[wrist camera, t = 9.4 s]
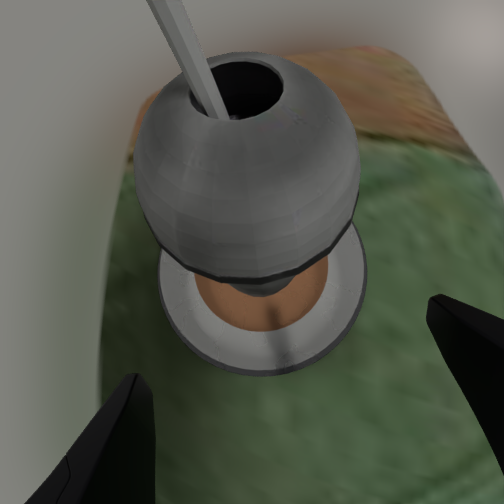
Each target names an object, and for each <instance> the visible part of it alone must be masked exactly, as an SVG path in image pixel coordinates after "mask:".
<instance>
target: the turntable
mask: <svg viewBox="0 0 504 504" xmlns="http://www.w3.org/2000/svg"><path fill="white" fill-rule="evenodd" d="M363 279H364V262H363V254H362V249H361V245H360V241H359V238H358V236H357V233H356V231H355V228H354V226H353V225H352V223H351V225H350V227H349V228H348V229H347V231H346V232H345V234H344V235H343V236H342V238H341V239H340V240H339V242H338V243H337V245H336V246H335V247H334V249H333V250H332V251H331V253H330V254H328V255H327V256H325V257H324V258H322V259H321V260H319V261H318V262H317V263H315V264H314V265H312V266H311V267H309V268H308V269H306V270H305V271H303V272H302V273H300V274H299V275H296V276H295V277H294V278H293V279H292V281H291V282H290V283H289V284H288V285H287V286H286V287H285V288H283V289H282V290H280V291H279V292H277V293H276V294H274V295H270V296H266V297H253V296H250V295H247V294H244V293H242V292H239V291H238V290H236V289H235V288H233V287H232V286H230V285H229V284H226V283H219V282H216V281H214V280H211V279H209V278H206V277H203V276H201V275H198V274H196V273H193V272H191V271H188V270H186V269H185V268H184V267H182V266H181V265H180V264H179V263H178V262H177V261H175V260H174V259H173V258H172V257H171V256H170V255H169V254H167V253H166V252H165V251H164V250H163V249H162V254H161V260H160V283H161V290H162V294H163V299H164V302H165V304H166V307H167V310H168V312H169V314H170V316H171V318H172V320H173V321H174V323H175V325H176V326H177V328H178V329H179V330H180V332H181V333H182V334H183V335H184V336H185V337H186V339H187V340H188V341H189V342H190V343H191V344H192V345H194V346H195V347H196V348H197V349H199V350H200V351H201V352H203V353H204V354H206V355H208V356H209V357H211V358H213V359H215V360H217V361H219V362H222V363H224V364H227V365H229V366H233V367H237V368H241V369H249V370H274V369H279V368H285V367H289V366H292V365H295V364H298V363H301V362H303V361H305V360H307V359H309V358H311V357H313V356H314V355H316V354H317V353H319V352H320V351H322V350H323V349H325V348H326V347H327V346H328V345H329V344H331V343H332V342H333V341H334V340H335V339H336V338H337V337H338V336H339V334H340V333H341V332H342V331H343V330H344V328H345V327H346V325H347V324H348V322H349V321H350V319H351V318H352V316H353V313H354V311H355V309H356V307H357V305H358V302H359V298H360V295H361V291H362V285H363Z"/></svg>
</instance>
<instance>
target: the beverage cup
mask: <svg viewBox="0 0 504 504" xmlns="http://www.w3.org/2000/svg"><path fill="white" fill-rule="evenodd" d="M146 1H147V3H148V5H149V6H150V8H151V10H152V12H153V14H154V16H155V18H156V20H157V22H158V24H159V26H160V28H161V30H162V32H163V34H164V36H165V38H166V40H167V42H168V44H169V46H170V48H171V49H172V52H173V54H174V56H175V57H176V60H177V61H178V64H179V66H180V68H181V70H182V73H181V74H179V75H178V76H177V77H176V78H174V79H173V80H172V81H171V82H169V83H168V84H167V85H166V86H164V88H163V89H162V90H161V92H160V93H159V94H158V96H157V97H156V98H155V100H154V101H153V103H152V104H151V105H150V107H149V109H148V110H147V112H146V114H145V115H144V117H143V121H142V124H141V127H140V130H139V134H138V137H137V141H136V145H135V149H134V153H133V156H134V174H135V184H136V194H137V197H138V200H139V203H140V205H141V207H142V209H143V212H144V216H145V220H146V221H147V223H148V225H149V227H150V229H151V231H152V233H153V235H154V237H155V238H156V240H157V242H158V244H159V246H160V247H161V248H162V249H163V250H164V251H165V252H166V253H167V254H169V255H170V256H171V257H172V258H173V259H174V260H175V261H177V262H178V263H179V264H180V265H181V266H182V267H184V268H185V269H186V270H188V271H191V272H193V273H196V274H198V275H201V276H203V277H206V278H209V279H211V280H214V281H216V282H219V283H226V284H229V285H230V286H232V287H233V288H235V289H236V290H238V291H239V292H242V293H244V294H247V295H250V296H253V297H266V296H270V295H274V294H276V293H277V292H279V291H280V290H282V289H283V288H285V287H286V286H287V285H288V284H289V283H290V282H291V281H292V279H293V278H294V277H295V276H296V275H299V274H300V273H302V272H303V271H305V270H306V269H308V268H309V267H311V266H312V265H314V264H315V263H317V262H318V261H319V260H321V259H322V258H324V257H325V256H327V255H328V254H330V253H331V251H332V250H333V249H334V247H335V246H336V245H337V243H338V242H339V240H340V239H341V238H342V236H343V235H344V234H345V232H346V231H347V229H348V228H349V227H350V225H351V222H352V218H353V215H354V211H355V207H356V204H357V200H358V196H359V181H360V170H361V166H360V158H359V150H358V143H357V137H356V133H355V129H354V126H353V124H352V122H351V120H350V119H349V117H348V115H347V113H346V112H345V110H344V108H343V106H342V105H341V103H340V101H339V99H338V98H337V96H336V94H335V93H334V92H333V91H332V90H331V89H330V88H329V87H328V86H327V85H326V84H324V83H323V82H322V81H321V80H320V79H319V78H318V77H316V76H315V75H314V74H313V73H312V72H310V71H309V70H308V69H306V68H304V67H302V66H300V65H298V64H295V63H293V62H291V61H289V60H287V59H284V58H282V57H279V56H276V55H270V54H265V53H259V52H232V53H227V54H222V55H218V56H214V57H210V58H207V59H206V58H205V56H204V53H203V51H202V48H201V46H200V43H199V41H198V38H197V36H196V34H195V31H194V29H193V26H192V24H191V22H190V19H189V17H188V15H187V12H186V10H185V8H184V5H183V3H182V0H146Z"/></svg>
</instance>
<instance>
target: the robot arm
mask: <svg viewBox="0 0 504 504" xmlns="http://www.w3.org/2000/svg"><path fill="white" fill-rule="evenodd" d="M426 322H427V325H428V327H429V329H430V331H431V333H432V335H433V337H434V339H435V341H436V343H437V346H438V348H439V350H440V352H441V354H442V356H443V358H444V360H445V362H446V364H447V366H448V368H449V369H450V371H451V373H452V374H453V376H454V378H455V380H456V381H457V383H458V385H459V387H460V388H461V390H462V392H463V394H464V395H465V397H466V399H467V401H468V403H469V405H470V406H471V408H472V410H473V412H474V414H475V416H476V418H477V420H478V422H479V424H480V426H481V428H482V429H483V431H484V433H485V435H486V438H487V440H488V442H489V444H490V446H491V448H492V450H493V452H494V454H495V456H496V459H497V461H498V463H499V466H500V468H501V470H502V472H503V475H504V319H501V318H499V317H497V316H494V315H492V314H489V313H487V312H485V311H482V310H480V309H477V308H475V307H473V306H470V305H468V304H465V303H463V302H460V301H458V300H456V299H453V298H451V297H448V296H446V295H443V294H438V295H435V296H432V297H430V299H429V301H428V308H427V314H426ZM155 449H156V436H155V423H154V409H153V395H152V391H151V389H150V387H149V386H148V384H147V383H146V382H145V380H144V379H143V377H142V376H141V374H139V373H132V374H127V375H126V376H125V377H124V378H123V379H122V381H121V382H120V383H119V385H118V386H117V387H116V388H115V390H114V391H113V392H112V394H111V395H110V396H109V398H108V399H107V400H106V401H105V403H104V404H103V405H102V407H101V408H100V409H99V411H98V412H97V413H96V415H95V416H94V417H93V418H92V420H91V421H90V423H89V424H88V425H87V427H86V428H85V429H84V430H83V432H82V433H81V435H80V436H79V437H78V438H77V440H76V441H75V442H74V444H73V445H72V446H71V448H70V449H69V450H68V452H67V453H66V455H65V456H64V457H63V459H62V460H61V461H60V463H59V464H58V465H57V466H56V468H55V469H54V470H53V471H52V473H51V474H50V475H49V477H48V478H47V479H46V480H45V481H44V482H43V483H42V485H41V486H40V487H39V488H38V489H37V490H36V491H35V492H34V493H33V495H32V496H31V497H30V498H29V499H28V500H27V501H26V502H25V503H24V504H155Z"/></svg>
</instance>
